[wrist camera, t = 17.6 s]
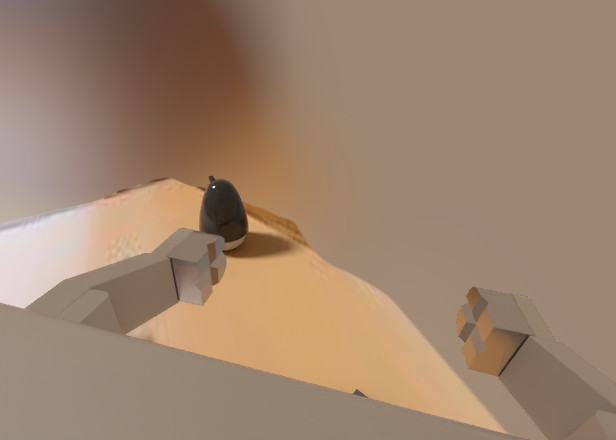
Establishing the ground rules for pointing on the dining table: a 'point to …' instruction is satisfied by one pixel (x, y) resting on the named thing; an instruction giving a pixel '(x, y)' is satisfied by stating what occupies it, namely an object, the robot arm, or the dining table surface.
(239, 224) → the dark grey egg shape
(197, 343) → the dining table surface
